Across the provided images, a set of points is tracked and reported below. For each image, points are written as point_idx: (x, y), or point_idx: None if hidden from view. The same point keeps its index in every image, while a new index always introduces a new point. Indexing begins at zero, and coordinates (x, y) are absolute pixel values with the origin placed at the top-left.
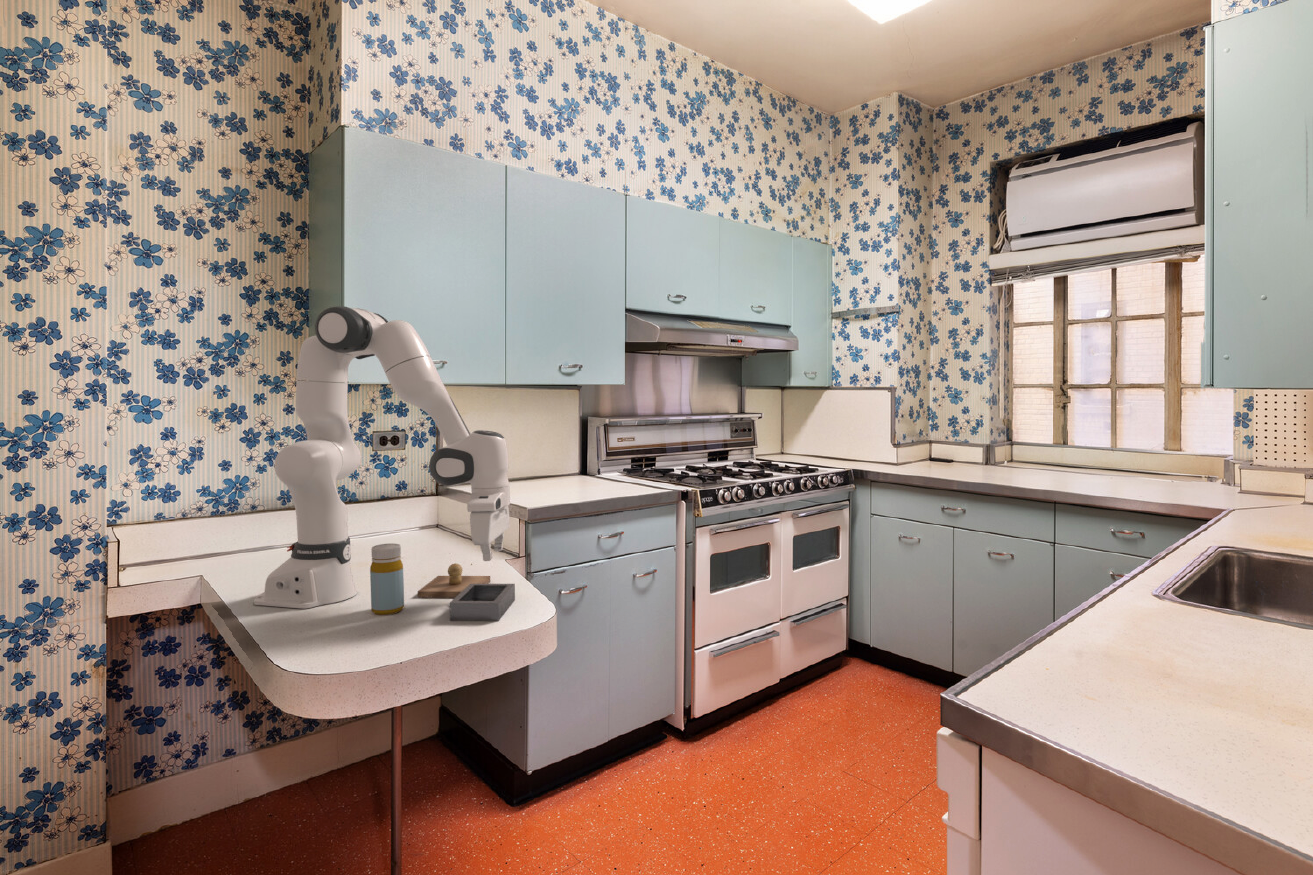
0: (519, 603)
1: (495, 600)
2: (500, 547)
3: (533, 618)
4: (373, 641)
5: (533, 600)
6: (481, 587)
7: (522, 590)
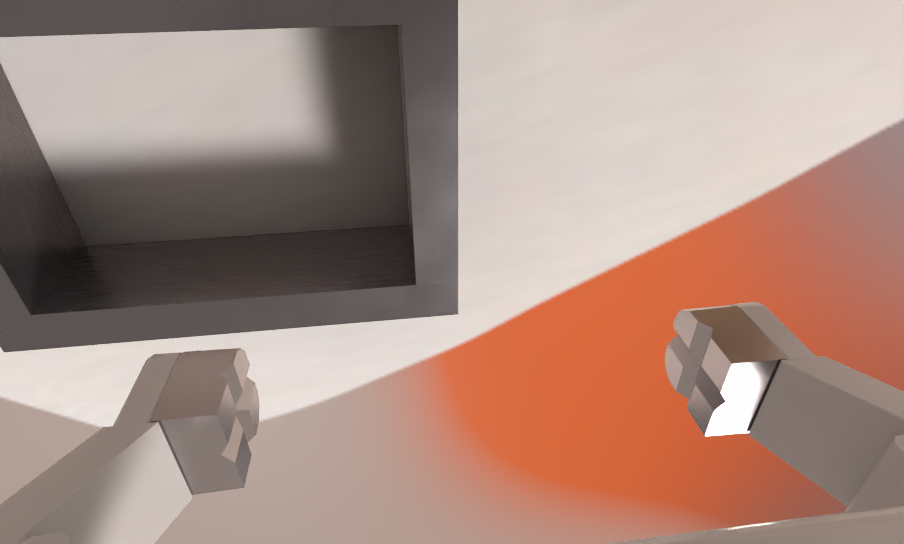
0: None
1: (47, 320)
2: (689, 395)
3: None
4: None
5: (441, 335)
6: (404, 87)
7: (628, 238)
